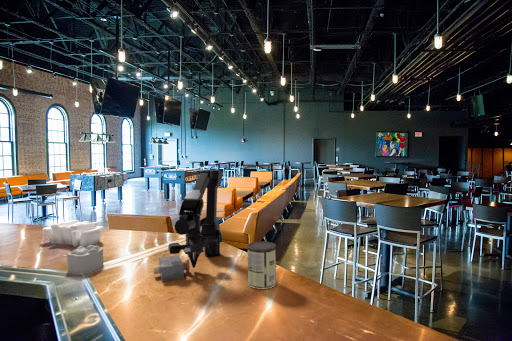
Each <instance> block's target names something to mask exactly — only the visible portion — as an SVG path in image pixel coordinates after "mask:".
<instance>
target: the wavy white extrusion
mask: <svg viewBox="0 0 512 341" xmlns="http://www.w3.org/2000/svg"><path fill="white" fill-rule="evenodd" d="M103 228H104V226H103V225H100V226H99V222H97V221H94V222H91V221H89V220H84V221H80V220H78V219H73V220H68V221H67V220H66V221H64V222H59V223H58V222H57V223H54V224H50V226H45V227H43V228H42V231H43V234H44V235H45V236H46V238H47V240H48V242H49V243H50V244H56V245H72V247H76V248H77V247H80V246H83V247H88V246H90V245H94V246H95V245H96V244H98V243H99V242H100V241H101V236H102V232H103Z"/></svg>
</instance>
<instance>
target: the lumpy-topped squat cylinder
mask: <svg viewBox="0 0 512 341" xmlns="http://www.w3.org/2000/svg"><path fill="white" fill-rule="evenodd" d="M103 266H104V248H103V247H102V246H98V245H95V244H94V245H90V246H88V247H83V246H77V247H76V249H73V250H72V251H70V252H68V253H67V273H69V274H71V273H72V274H75V275H82V274H81V273H85V274H88V273H91V272H94V271H96V269H97V270H98V268H99V269H101V268H102V267H103ZM100 267H101V268H100ZM93 270H94V271H93ZM90 271H91V272H90ZM87 272H88V273H87Z"/></svg>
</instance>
